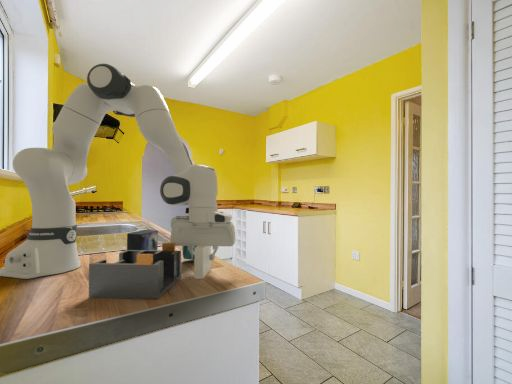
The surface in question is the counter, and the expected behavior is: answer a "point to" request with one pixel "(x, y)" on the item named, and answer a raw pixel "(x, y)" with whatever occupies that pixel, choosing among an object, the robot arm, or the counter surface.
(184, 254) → the beverage bottle
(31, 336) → the counter surface
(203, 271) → the panel
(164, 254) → the rack
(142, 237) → the small box
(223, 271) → the counter surface
